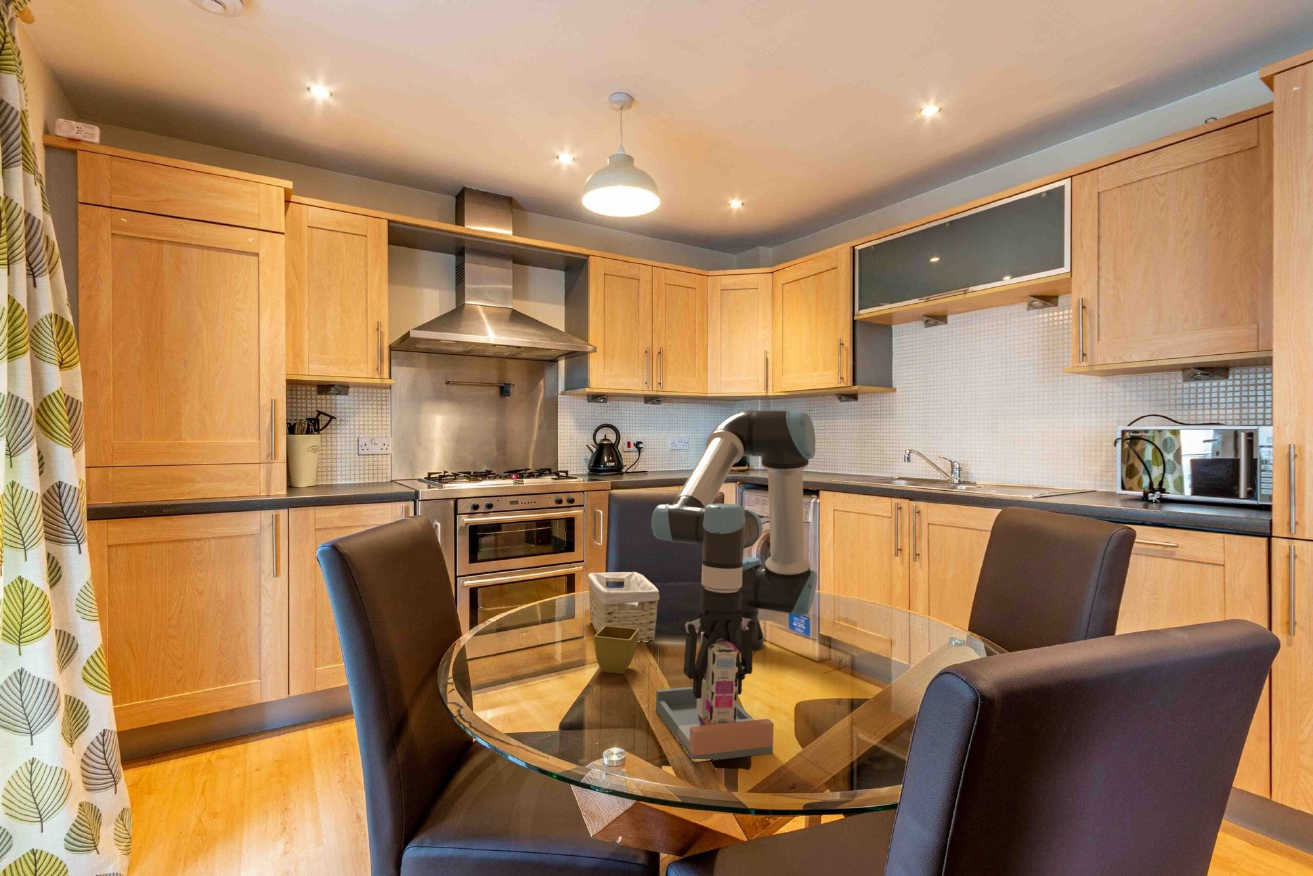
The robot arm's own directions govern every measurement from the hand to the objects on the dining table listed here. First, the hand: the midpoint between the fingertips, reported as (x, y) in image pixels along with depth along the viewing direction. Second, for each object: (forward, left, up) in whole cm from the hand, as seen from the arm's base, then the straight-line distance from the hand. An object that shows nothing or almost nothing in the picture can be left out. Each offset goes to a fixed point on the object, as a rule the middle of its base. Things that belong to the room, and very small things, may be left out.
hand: (716, 713), depth 116 cm
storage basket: (+2, -65, -5) cm, 65 cm away
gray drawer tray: (0, -2, -4) cm, 5 cm away
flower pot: (+10, -36, -5) cm, 38 cm away
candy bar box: (0, 0, -3) cm, 3 cm away
